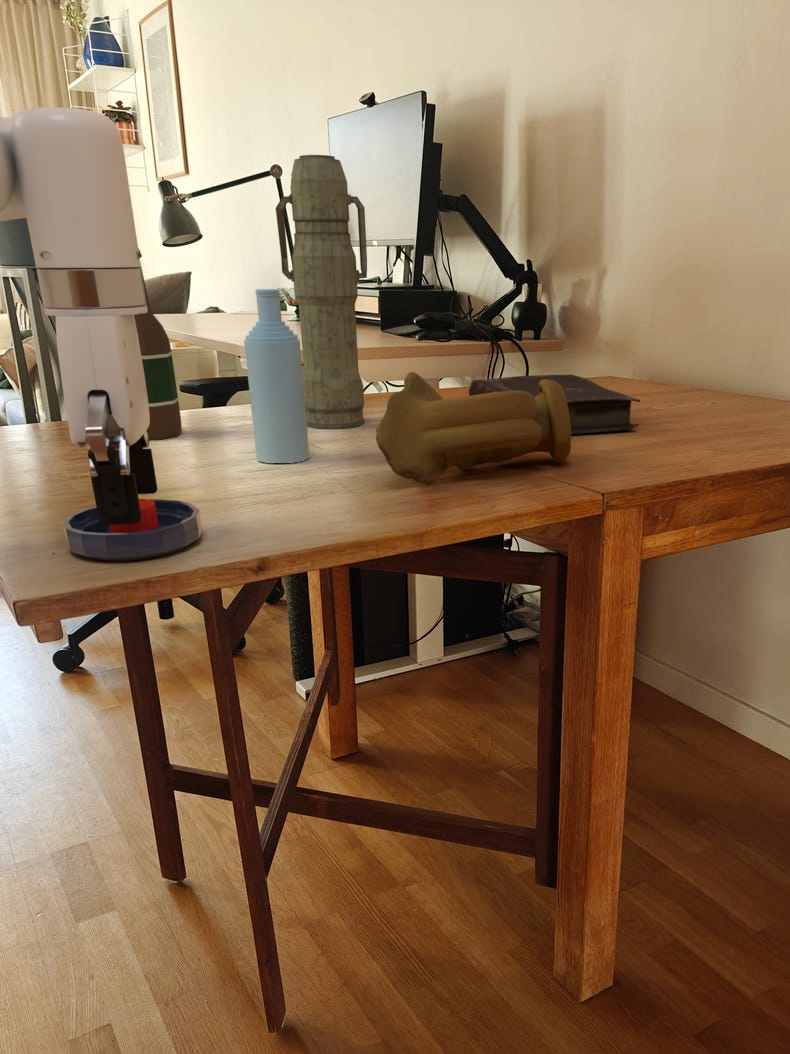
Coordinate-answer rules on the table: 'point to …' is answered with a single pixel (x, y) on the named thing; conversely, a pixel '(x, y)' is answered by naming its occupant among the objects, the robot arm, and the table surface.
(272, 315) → the bottle
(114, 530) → the cap
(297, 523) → the table surface
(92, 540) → the dish
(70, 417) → the robot arm
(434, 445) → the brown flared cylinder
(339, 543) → the table surface
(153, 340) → the beer bottle
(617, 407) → the diary
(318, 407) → the thermos
